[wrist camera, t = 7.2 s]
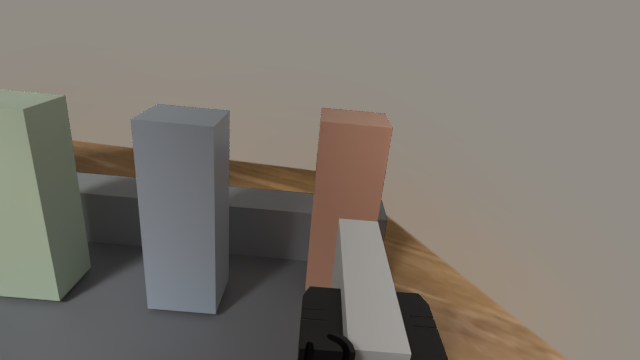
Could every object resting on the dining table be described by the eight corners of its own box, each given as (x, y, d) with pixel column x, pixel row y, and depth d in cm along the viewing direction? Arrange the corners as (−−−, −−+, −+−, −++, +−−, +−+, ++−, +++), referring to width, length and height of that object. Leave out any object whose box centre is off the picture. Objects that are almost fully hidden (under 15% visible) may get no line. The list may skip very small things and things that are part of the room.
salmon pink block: (305, 290, 24) (320, 121, 20) (307, 260, 26) (321, 107, 22) (365, 295, 24) (392, 128, 20) (361, 265, 26) (384, 113, 23)
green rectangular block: (-10, 295, 21) (-62, 101, 17) (30, 261, 24) (-8, 88, 20) (59, 300, 21) (22, 109, 17) (91, 267, 24) (65, 95, 20)
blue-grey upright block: (147, 308, 21) (130, 119, 17) (168, 273, 24) (157, 103, 20) (215, 314, 21) (213, 126, 17) (228, 278, 24) (229, 110, 20)
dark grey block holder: (-122, 405, 17) (-166, 309, 15) (72, 234, 30) (62, 171, 28) (404, 447, 17) (426, 358, 15) (371, 260, 30) (381, 199, 28)
